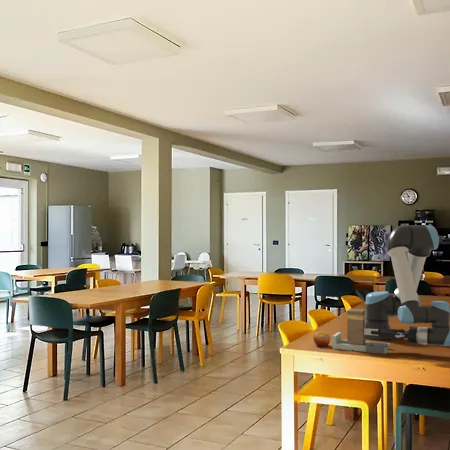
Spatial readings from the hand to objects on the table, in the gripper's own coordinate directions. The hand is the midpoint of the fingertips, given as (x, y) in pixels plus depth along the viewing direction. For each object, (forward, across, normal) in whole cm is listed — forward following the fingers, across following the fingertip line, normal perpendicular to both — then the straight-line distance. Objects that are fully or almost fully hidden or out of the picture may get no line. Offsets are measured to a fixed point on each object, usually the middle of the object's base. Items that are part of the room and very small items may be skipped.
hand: (364, 331), depth 257 cm
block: (+4, +1, -8) cm, 9 cm away
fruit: (+20, 0, -9) cm, 22 cm away
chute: (+1, +1, -8) cm, 9 cm away
